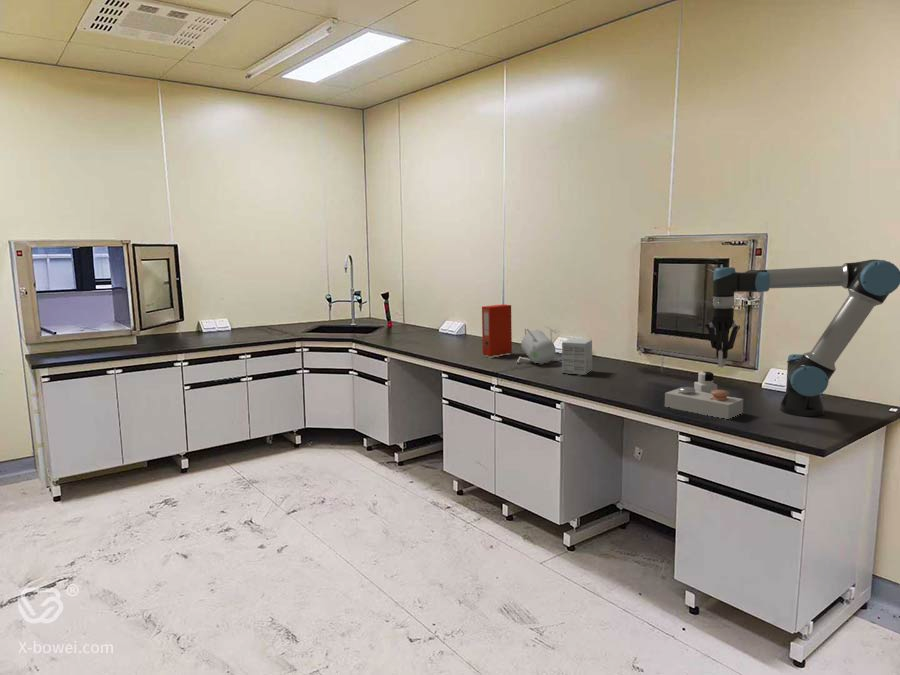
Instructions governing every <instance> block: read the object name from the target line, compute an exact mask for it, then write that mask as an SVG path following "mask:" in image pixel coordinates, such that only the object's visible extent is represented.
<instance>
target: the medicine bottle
mask: <svg viewBox="0 0 900 675" xmlns="http://www.w3.org/2000/svg"><path fill="white" fill-rule="evenodd" d="M697 378H698V380H697V381H694V383H693V385H694V386H693V388H695V391H700V392H706V393H711V391H712V390H718V384H716V383H714V373H713V372H711V371H700V372H698V377H697Z"/></svg>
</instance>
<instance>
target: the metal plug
mask: <svg viewBox="0 0 900 675" xmlns="http://www.w3.org/2000/svg"><path fill="white" fill-rule="evenodd" d="M678 389H679V391H680V392H681V394H685V395H693V394H694V392H695V388H694V387H690V386H680V387H679V388H678Z"/></svg>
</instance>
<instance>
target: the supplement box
mask: <svg viewBox="0 0 900 675" xmlns="http://www.w3.org/2000/svg"><path fill="white" fill-rule="evenodd" d="M561 358H562V359H561V371H562V372H565V373H579V374H587V373H588V372H589V371H591V370H592V371H593V339H585V338H583V339H582V338H568V339H566V340H565V341H562V342H561ZM592 371H591V372H592ZM562 372H561V373H562ZM587 375H588V374H587Z"/></svg>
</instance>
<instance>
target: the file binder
mask: <svg viewBox="0 0 900 675" xmlns="http://www.w3.org/2000/svg"><path fill="white" fill-rule="evenodd" d="M481 320H482V321H481V323H482V324H481V331H482V333H481V334H482V335H481V336H482V337H481V338H482V355H483V354H484V355H488V356H493V355H500V354H506V353H512V354H513V349H512V348H513V347H512V346H513V345H512V344H513V343H512V339H513V338H512V337H513V336H512V333H513V332H512V305H510V304H504V303H503V304H494V305H493V304H492V305H486V306H485V305H484V306H481Z"/></svg>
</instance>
